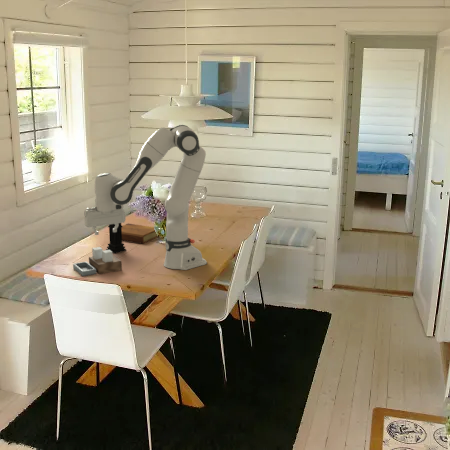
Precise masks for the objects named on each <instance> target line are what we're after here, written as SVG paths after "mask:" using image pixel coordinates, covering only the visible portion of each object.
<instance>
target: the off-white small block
mask: <svg viewBox="0 0 450 450" xmlns="http://www.w3.org/2000/svg"><path fill="white" fill-rule="evenodd" d="M113 255H114V253H112V251H111V250H106V249H105V250H103V251H102V260H103V261H104V262H111V261H113Z"/></svg>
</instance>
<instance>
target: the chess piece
mask: <svg viewBox="0 0 450 450" xmlns="http://www.w3.org/2000/svg"><path fill="white" fill-rule="evenodd" d="M122 226H123V225H122V223H119V226H118V228H117V232H113V228H114V227H115V224H110V225H107V228H108V229H109V230H108V232H109V233H108V235H109V243H107V246H106V249H105V250H111V251H112V254H113V255H114V254H119V253H123V252H127V249H126V246H125V243H123V241H122V228H121V227H122Z"/></svg>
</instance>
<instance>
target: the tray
mask: <svg viewBox="0 0 450 450" xmlns="http://www.w3.org/2000/svg"><path fill="white" fill-rule="evenodd" d="M72 265H73V266H72V268H73V270H75V271H76V273H78V274H79V275H80V274H81V275H80V276H82V277H86V276H93V275H97V272H96V269H95V268H94V267H93V266H92V265H90V264H89V261H86V260H85V261H81V262H76V263H75V262H74V263H72Z"/></svg>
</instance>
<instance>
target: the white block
mask: <svg viewBox="0 0 450 450" xmlns="http://www.w3.org/2000/svg"><path fill="white" fill-rule="evenodd" d="M91 250H92V256H93V258H94V259H101V258H102V251H104V250H103V248H102V247H101V246H97V247H92V248H91Z"/></svg>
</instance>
